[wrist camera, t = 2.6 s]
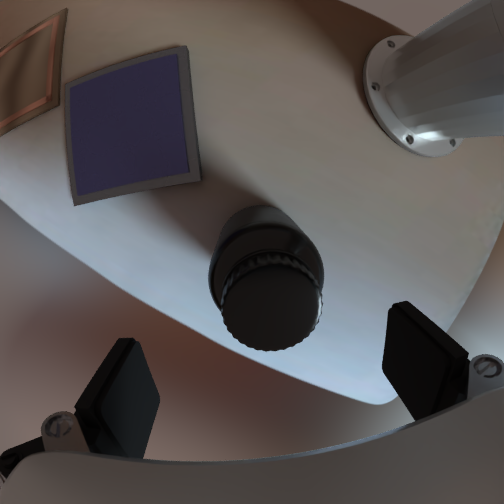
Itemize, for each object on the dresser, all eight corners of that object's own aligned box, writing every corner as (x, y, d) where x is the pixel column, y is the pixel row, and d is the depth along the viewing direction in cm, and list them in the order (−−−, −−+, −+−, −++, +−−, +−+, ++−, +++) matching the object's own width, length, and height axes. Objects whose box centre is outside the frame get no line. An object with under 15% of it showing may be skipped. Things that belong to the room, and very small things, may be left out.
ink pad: (188, 50, 20) (185, 44, 18) (202, 180, 23) (200, 180, 21) (71, 86, 20) (63, 83, 18) (80, 204, 23) (72, 206, 22)
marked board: (68, 9, 17) (65, 7, 16) (59, 105, 20) (56, 104, 20) (-6, 56, 17) (-9, 55, 16) (-14, 145, 20) (-17, 145, 20)
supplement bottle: (203, 236, 24) (167, 292, 13) (269, 188, 23) (293, 201, 12) (250, 296, 26) (255, 387, 14) (314, 253, 25) (367, 318, 13)
